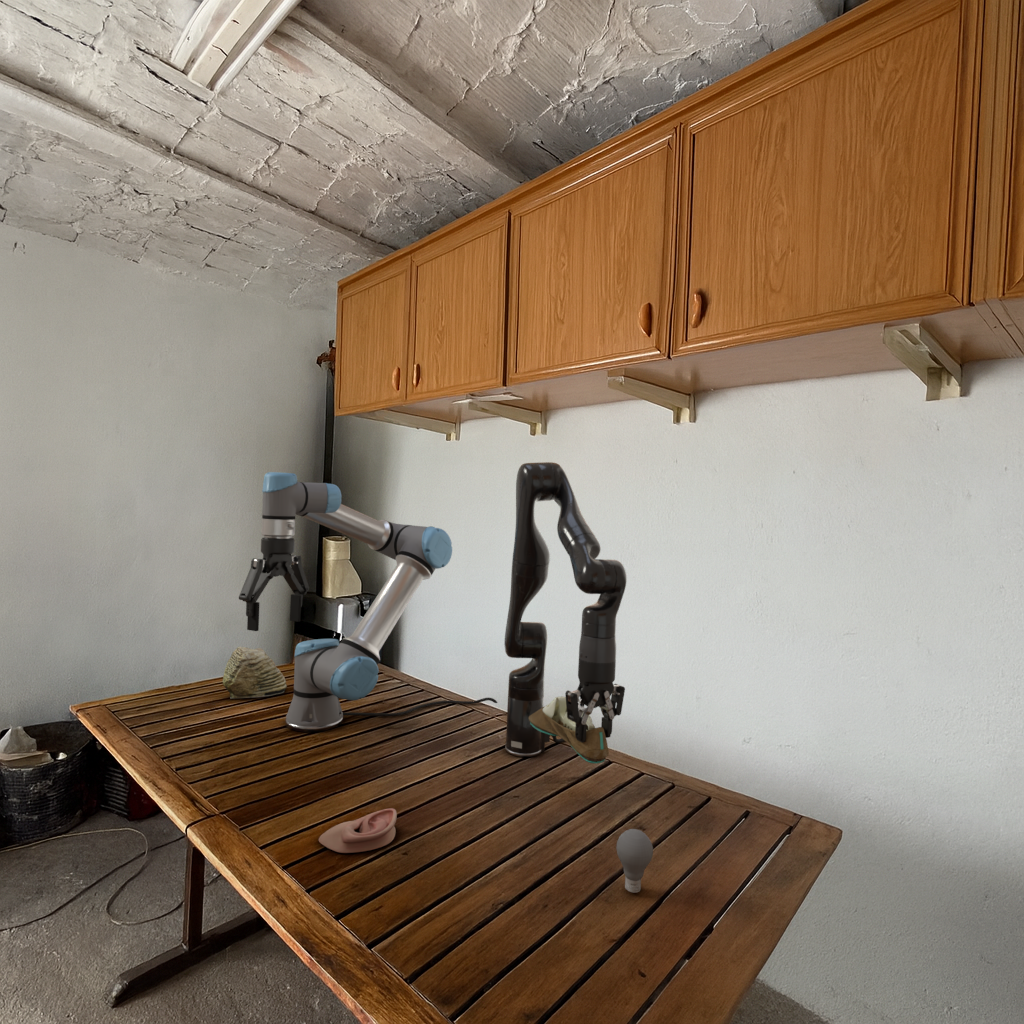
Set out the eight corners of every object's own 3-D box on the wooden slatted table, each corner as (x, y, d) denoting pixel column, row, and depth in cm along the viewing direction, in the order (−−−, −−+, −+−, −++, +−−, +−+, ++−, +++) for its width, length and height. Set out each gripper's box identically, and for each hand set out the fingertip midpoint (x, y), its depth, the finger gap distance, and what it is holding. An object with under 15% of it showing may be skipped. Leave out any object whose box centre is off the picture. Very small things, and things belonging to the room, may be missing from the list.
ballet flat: (551, 718, 150) (554, 682, 149) (616, 762, 128) (620, 719, 128) (521, 723, 146) (524, 685, 145) (583, 769, 124) (587, 725, 124)
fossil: (218, 695, 195) (220, 647, 195) (278, 685, 208) (279, 640, 207) (228, 703, 189) (230, 653, 188) (289, 692, 201) (290, 645, 201)
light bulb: (610, 879, 108) (613, 822, 108) (644, 879, 109) (647, 822, 109) (619, 902, 102) (622, 840, 102) (655, 901, 103) (658, 840, 103)
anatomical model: (310, 826, 114) (340, 797, 125) (309, 848, 114) (339, 817, 125) (379, 837, 111) (403, 806, 122) (378, 859, 111) (403, 827, 123)
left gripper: (249, 540, 138) (245, 636, 139) (325, 536, 161) (322, 619, 162) (223, 537, 141) (220, 632, 142) (302, 534, 164) (299, 615, 165)
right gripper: (580, 664, 122) (576, 751, 123) (636, 657, 130) (632, 739, 130) (557, 655, 129) (554, 738, 129) (612, 649, 136) (608, 727, 136)
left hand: (274, 625), depth 152 cm, fingers open, 13 cm apart
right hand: (593, 738), depth 129 cm, fingers closed on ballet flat, 5 cm apart
